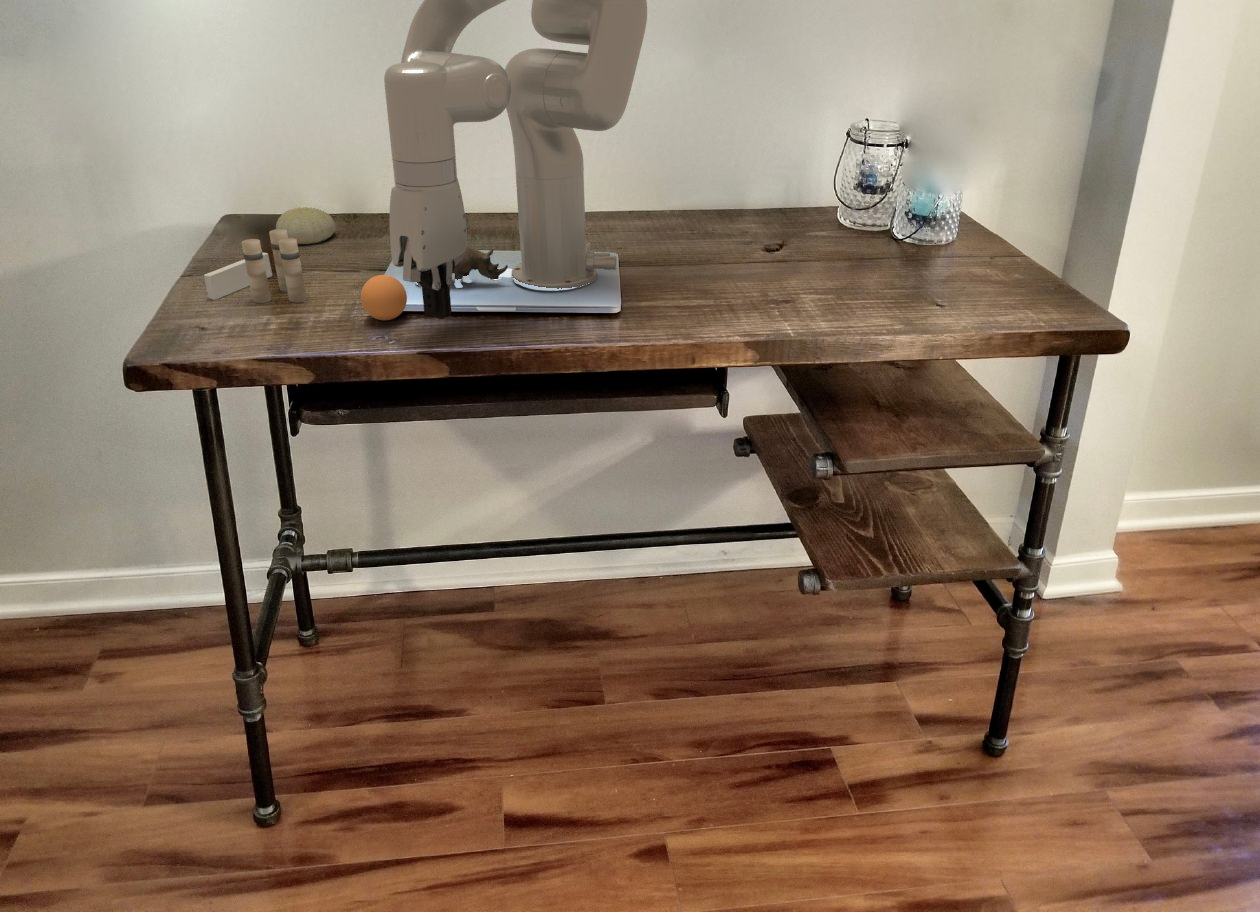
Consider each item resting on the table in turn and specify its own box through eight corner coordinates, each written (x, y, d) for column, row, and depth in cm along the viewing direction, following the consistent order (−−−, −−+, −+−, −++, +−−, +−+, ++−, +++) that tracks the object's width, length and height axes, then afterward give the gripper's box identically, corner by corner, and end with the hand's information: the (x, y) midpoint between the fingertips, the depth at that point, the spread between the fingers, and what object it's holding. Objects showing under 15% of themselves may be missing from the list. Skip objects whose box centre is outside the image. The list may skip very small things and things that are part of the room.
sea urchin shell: (324, 237, 165) (285, 200, 163) (297, 269, 169) (259, 233, 167) (348, 220, 173) (311, 185, 171) (323, 251, 177) (286, 217, 175)
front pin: (309, 296, 147) (299, 238, 143) (303, 302, 145) (292, 244, 141) (292, 296, 147) (282, 237, 143) (286, 302, 145) (275, 243, 141)
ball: (414, 311, 142) (409, 269, 139) (401, 328, 137) (396, 284, 134) (372, 309, 142) (366, 268, 139) (357, 326, 137) (351, 283, 134)
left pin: (274, 297, 147) (263, 239, 143) (267, 303, 145) (255, 244, 141) (257, 296, 147) (245, 238, 143) (249, 303, 145) (237, 244, 141)
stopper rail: (272, 276, 155) (268, 253, 153) (214, 300, 146) (209, 276, 145) (266, 274, 155) (262, 252, 154) (208, 298, 147) (203, 275, 145)
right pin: (300, 286, 151) (290, 229, 147) (293, 292, 149) (283, 234, 145) (283, 285, 151) (273, 228, 147) (276, 291, 149) (265, 234, 145)
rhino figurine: (505, 292, 148) (502, 251, 145) (412, 288, 150) (407, 248, 147) (512, 281, 152) (509, 242, 149) (421, 278, 153) (416, 239, 150)
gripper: (438, 156, 133) (449, 293, 141) (359, 181, 121) (377, 328, 130) (486, 163, 129) (495, 302, 138) (410, 189, 118) (424, 339, 127)
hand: (438, 315), depth 134 cm, fingers closed
